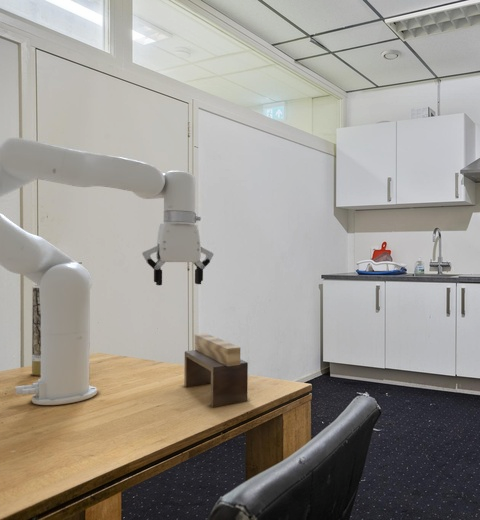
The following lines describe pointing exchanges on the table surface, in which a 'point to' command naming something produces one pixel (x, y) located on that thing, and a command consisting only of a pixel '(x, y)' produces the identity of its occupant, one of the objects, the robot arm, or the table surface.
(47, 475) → the table surface
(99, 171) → the robot arm
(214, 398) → the dark brown channel bracket
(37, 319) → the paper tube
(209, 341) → the stick
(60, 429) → the table surface
